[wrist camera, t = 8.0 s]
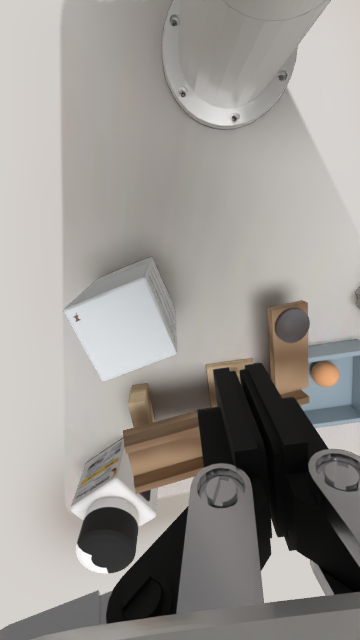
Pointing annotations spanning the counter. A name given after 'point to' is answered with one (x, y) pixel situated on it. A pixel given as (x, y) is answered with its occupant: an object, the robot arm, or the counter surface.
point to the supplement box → (125, 320)
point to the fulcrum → (232, 366)
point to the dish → (335, 385)
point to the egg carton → (359, 294)
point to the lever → (183, 431)
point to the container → (110, 511)
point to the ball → (325, 374)
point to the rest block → (140, 405)
